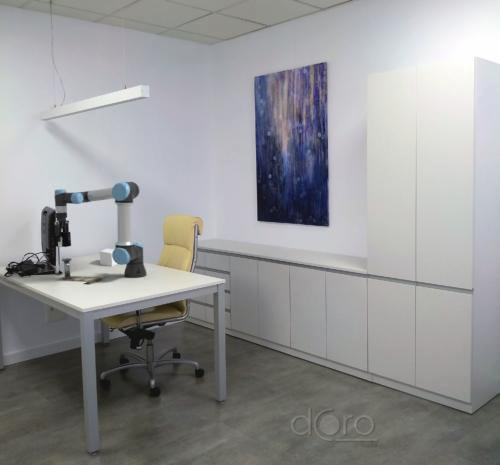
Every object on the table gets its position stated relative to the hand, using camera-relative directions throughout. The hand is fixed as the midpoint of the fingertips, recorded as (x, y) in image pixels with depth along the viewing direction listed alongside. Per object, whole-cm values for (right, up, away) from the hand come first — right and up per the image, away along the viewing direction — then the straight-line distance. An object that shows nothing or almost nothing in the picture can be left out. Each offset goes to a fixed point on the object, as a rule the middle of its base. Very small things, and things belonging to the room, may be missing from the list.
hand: (62, 245), depth 371 cm
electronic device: (0, -1, 0) cm, 1 cm away
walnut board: (+16, -23, -14) cm, 31 cm away
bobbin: (+7, -21, -12) cm, 25 cm away
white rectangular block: (+19, -15, +53) cm, 58 cm away
